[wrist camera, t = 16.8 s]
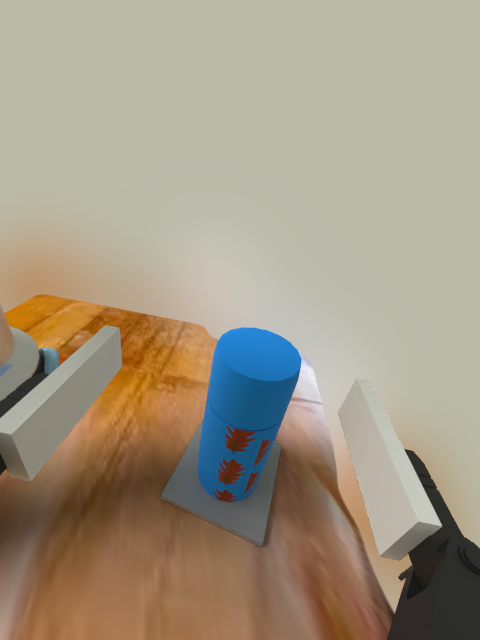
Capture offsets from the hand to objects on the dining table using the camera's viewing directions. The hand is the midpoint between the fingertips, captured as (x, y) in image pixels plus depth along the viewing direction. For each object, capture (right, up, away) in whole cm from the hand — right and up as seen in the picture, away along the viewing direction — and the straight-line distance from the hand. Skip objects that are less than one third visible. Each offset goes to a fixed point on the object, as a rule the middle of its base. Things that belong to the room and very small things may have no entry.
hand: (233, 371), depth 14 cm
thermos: (-2, -22, +29) cm, 37 cm away
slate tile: (-2, -23, +30) cm, 38 cm away
